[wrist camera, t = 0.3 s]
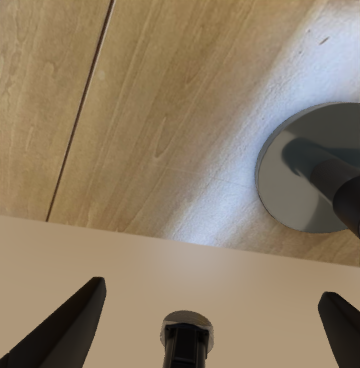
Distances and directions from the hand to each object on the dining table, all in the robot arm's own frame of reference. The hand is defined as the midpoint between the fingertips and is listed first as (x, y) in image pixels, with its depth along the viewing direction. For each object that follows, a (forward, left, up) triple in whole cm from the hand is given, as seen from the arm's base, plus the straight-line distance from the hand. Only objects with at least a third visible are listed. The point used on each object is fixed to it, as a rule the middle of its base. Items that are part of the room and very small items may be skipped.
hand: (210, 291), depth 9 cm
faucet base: (+1, -10, -14) cm, 17 cm away
